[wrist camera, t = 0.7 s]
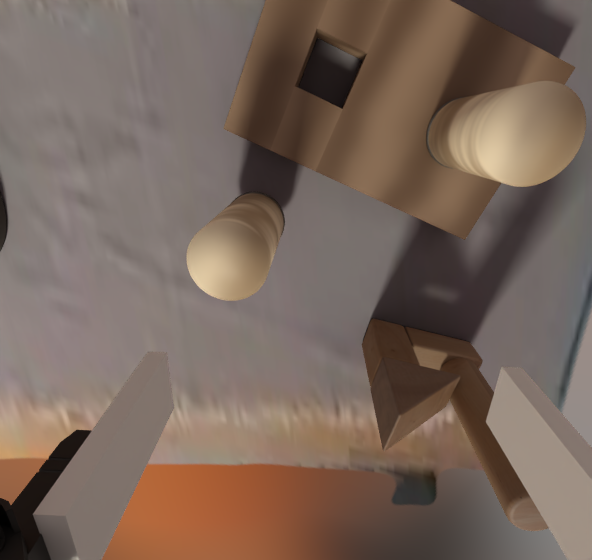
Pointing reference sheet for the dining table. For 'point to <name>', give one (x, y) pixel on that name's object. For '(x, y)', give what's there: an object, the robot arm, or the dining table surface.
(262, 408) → the dining table surface
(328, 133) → the walnut board
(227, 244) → the beech peg
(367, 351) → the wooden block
